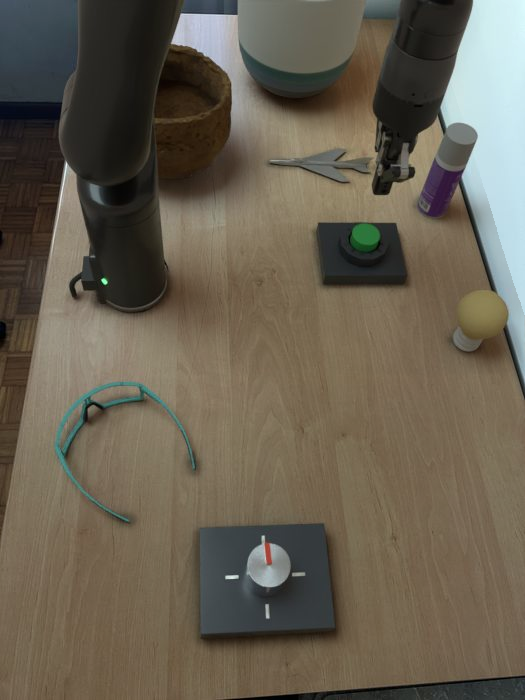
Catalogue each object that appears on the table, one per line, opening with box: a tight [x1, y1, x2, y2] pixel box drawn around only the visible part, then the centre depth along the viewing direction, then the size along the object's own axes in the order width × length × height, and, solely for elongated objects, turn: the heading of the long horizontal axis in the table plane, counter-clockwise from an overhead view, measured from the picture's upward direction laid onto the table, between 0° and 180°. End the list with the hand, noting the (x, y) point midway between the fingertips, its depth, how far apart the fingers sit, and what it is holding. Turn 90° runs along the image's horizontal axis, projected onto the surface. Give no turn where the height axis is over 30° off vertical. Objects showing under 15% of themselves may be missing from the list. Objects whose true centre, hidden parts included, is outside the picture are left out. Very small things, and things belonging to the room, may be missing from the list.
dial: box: [245, 543, 291, 597], centre depth 69 cm, size 4×4×5 cm
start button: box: [350, 223, 380, 253], centre depth 95 cm, size 4×4×2 cm
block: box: [315, 221, 408, 286], centre depth 97 cm, size 12×10×4 cm
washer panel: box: [199, 522, 336, 639], centre depth 73 cm, size 14×11×3 cm
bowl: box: [154, 43, 233, 180], centre depth 100 cm, size 19×19×15 cm
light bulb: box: [452, 289, 510, 353], centre depth 88 cm, size 6×6×10 cm
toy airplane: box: [268, 147, 377, 183], centre depth 108 cm, size 8×21×2 cm, turn 91°
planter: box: [237, 0, 367, 99], centre depth 110 cm, size 20×20×21 cm
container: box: [416, 122, 479, 220], centre depth 99 cm, size 5×5×15 cm
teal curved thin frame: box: [54, 381, 196, 523], centre depth 79 cm, size 14×15×5 cm
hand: (379, 191), depth 87 cm, fingers closed
